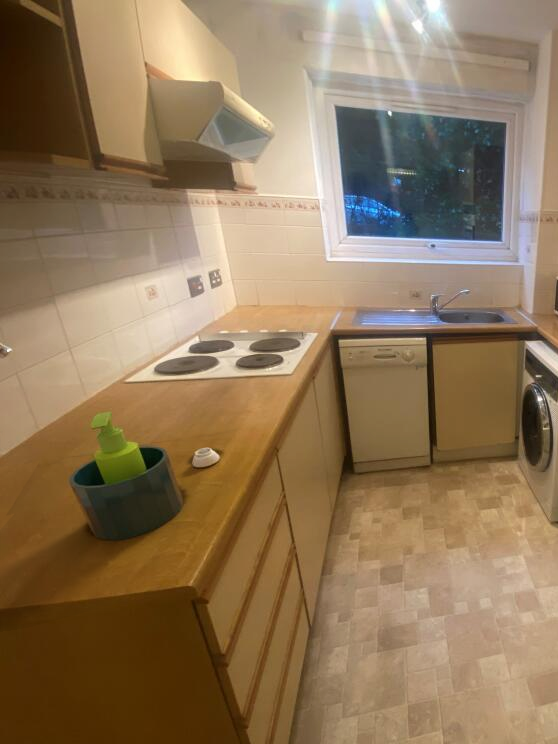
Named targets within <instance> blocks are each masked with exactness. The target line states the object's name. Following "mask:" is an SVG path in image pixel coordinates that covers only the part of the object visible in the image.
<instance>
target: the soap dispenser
mask: <svg viewBox="0 0 558 744" xmlns="http://www.w3.org/2000/svg"><path fill="white" fill-rule="evenodd" d="M112 415H113V412H112V411H111V410H110V411H106V412H100V413H96V414H95V415H94V417H93V418H92V421H91V423H90V429H91V430H95V429H100V431H99V432H98V433H97V434H95V437H96V440H97V442H98V444H99V447H100V449H99V450H97V451H96V452H94V454H93V458H94V459H95V461H96V463H97V466H98V468H99V470H100V473H101V475H102V477H103V480H104V482H105V484H111V483H116V482H119V481H122V480H126V479H129V478H132V477H134V476H136V475H139V474H141V473H144V472H145V471H147V468H146V466H145V463H144V460H143V458H142V455H141V452H140V450H139V447H140V446H139V445H138V443H137V442H135V441H127V439H126V436H125V434H124V432H123V429H122V428H120V427H114V424H113V421H112V419H111V417H112ZM94 459H93V460H94Z"/></svg>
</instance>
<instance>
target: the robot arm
mask: <svg viewBox="0 0 558 744" xmlns="http://www.w3.org/2000/svg"><path fill="white" fill-rule="evenodd" d="M12 352H13V348H11V347H8V346H7V345H5V344H3V343H2V342H0V359H4V358H6V357H8V356H10V354H11V353H12Z"/></svg>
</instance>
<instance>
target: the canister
mask: <svg viewBox="0 0 558 744" xmlns="http://www.w3.org/2000/svg"><path fill="white" fill-rule="evenodd" d="M138 447H139V450H140V452H141V455H142V458H143V460H144V463H145V466H146V468H147V471H145V472H144V473H141V474H139V475H136V476H134V477H132V478H129V479H126V480H122V481H119V482H116V483H111V484H105V482H104V480H103V477H102V475H101V473H100V470H99V468H98V466H97V463H96V461H95V459H92V460H90V461H88V462H86V463H84V464H83V465H81V466H80V467H78V468H77V469H76V470H74V471H73V473H72V474H71V475H70V476H69V481H68V483H69V486H70V488H71V490H72V492H73V494H74V496H75V499H76V501H77V502H78V505H79V507H80V509H81V511H82V513H83V516H84V518H85V520H86V522H87V525H88V526H89V529H90V531H91V532H92V533H93V536H95V537H96V538H97V539H99V540H102V541H111V542H112V541H120V540H127V539H132V538H136V537H138V536H141V535H144V534H147V533H149V532H152V531H155V530H156V529H158V528H160V527H161V526H163V525H165V524H167V523H168V522H170V521H171V520H172V519H174V518H175V517H177V515H178V514H179V513H180V512H181V510H182V509H183V507H184V498H183V494H182V492H181V488H180V487H179V482H178V480H177V478H176V475H175V472H174V469H173V466H172V463H171V461H170V458H169V454H168V451H167V450H166V449H165V448H163V447H161V446H155V445H154V446H153V445H145V446H144V445H143V446H138Z"/></svg>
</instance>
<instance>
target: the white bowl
mask: <svg viewBox="0 0 558 744" xmlns="http://www.w3.org/2000/svg"><path fill="white" fill-rule="evenodd" d="M192 458H193V459H192V462H191V463H192V466H193V467H195V468H205V467H206V468H207V467H210V466H212V465H214V464H216V463H217V462H218V461H219V460H220V455H219V454H218V453H217V452H216V451H215V450H212V448H211V447H203V448H200V449H197V450H196V451H195V452H194V455H193V457H192Z"/></svg>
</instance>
